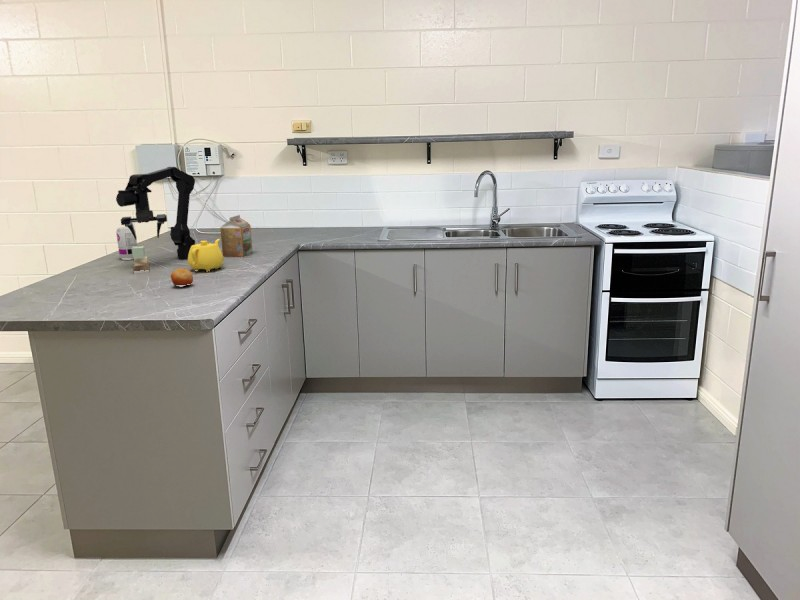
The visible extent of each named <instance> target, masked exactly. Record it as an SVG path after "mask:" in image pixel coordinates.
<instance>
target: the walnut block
mask: <svg viewBox="0 0 800 600" xmlns="http://www.w3.org/2000/svg"><path fill="white" fill-rule="evenodd" d="M149 268H151V267H150V262H148V265H140V266H135V264H134V263H133V265H132V272H133V271H140V270H144V271H145V270H149Z"/></svg>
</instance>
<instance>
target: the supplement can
mask: <svg viewBox="0 0 800 600" xmlns="http://www.w3.org/2000/svg"><path fill="white" fill-rule="evenodd" d="M115 233H116V234H115V235H116V239H117V240H116V241H117V245H118V247H117V248H118V254H119V258H120V257H121V258H133V255H132V247H137V246H138V241H137V240H135V238H134V236H133V234H132V232H131V231H130V229H129V228H128V227H125V226H124V227H117V228H116V232H115Z"/></svg>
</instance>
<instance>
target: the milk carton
mask: <svg viewBox="0 0 800 600" xmlns="http://www.w3.org/2000/svg"><path fill="white" fill-rule="evenodd" d="M228 219H229V220H228V221H226V222H225V223H224V224H222V226H220V230H219V231H220V241H221V249H222V250H221V252H222V255H223V256H224V257H223V258H245V257H244V256H246V257H248V256H250V255H252V254H253V252H254V251H253V242H252V241H253V240H252V229H251V228H252V227H251V226H252V225H251V224H250V223H249V222H248V221H246V220H244V219H243V218H241V215H240V214H238V215H234V216H231V217H229V218H228ZM251 253H252V254H251ZM249 254H250V255H249ZM247 255H248V256H247Z"/></svg>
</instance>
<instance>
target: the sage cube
mask: <svg viewBox="0 0 800 600" xmlns="http://www.w3.org/2000/svg"><path fill="white" fill-rule="evenodd" d="M132 255H133V259H140V258H145V256H146V249H145V245H142V246H138V245H137V247H132Z"/></svg>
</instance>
